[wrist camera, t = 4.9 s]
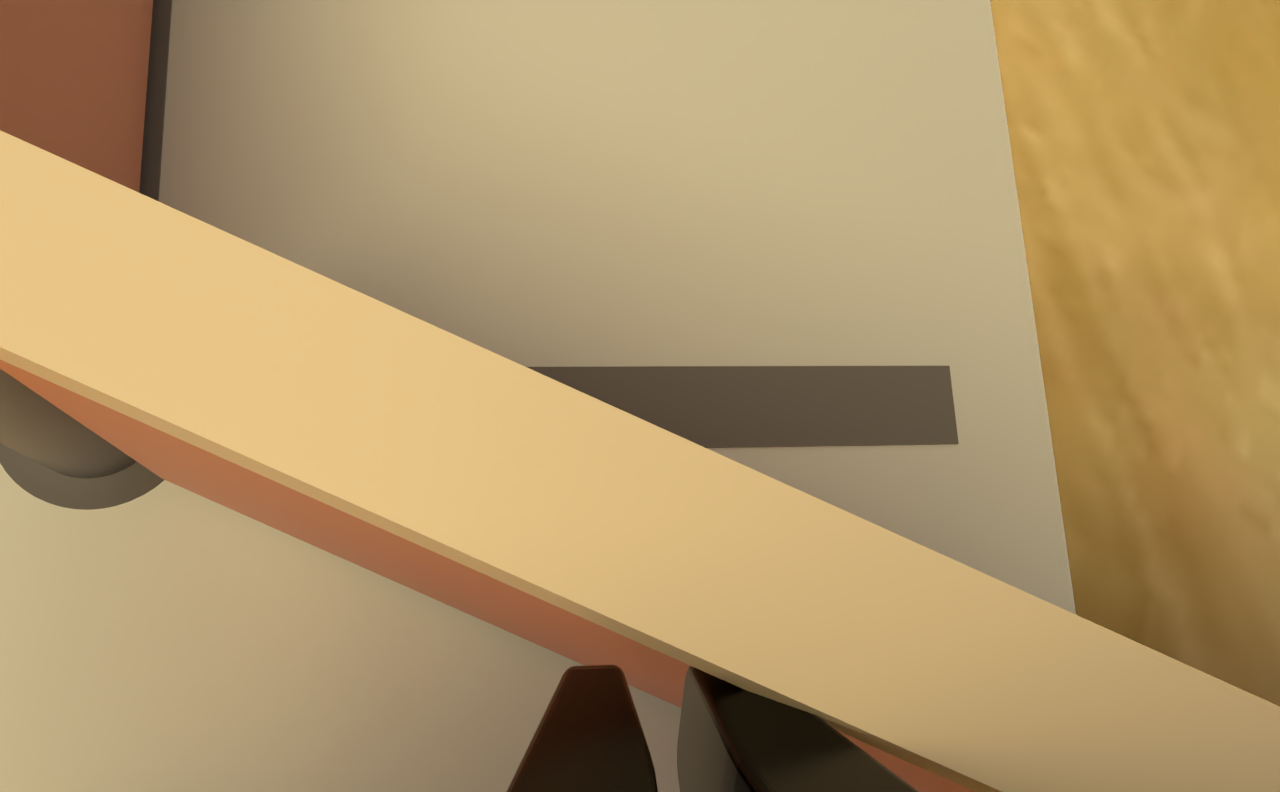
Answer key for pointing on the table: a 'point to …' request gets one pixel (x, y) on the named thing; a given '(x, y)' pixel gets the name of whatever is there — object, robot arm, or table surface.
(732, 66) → the card
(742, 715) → the robot arm
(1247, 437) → the table surface
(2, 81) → the fixed fence
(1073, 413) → the table surface
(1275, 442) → the table surface
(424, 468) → the fence panel
